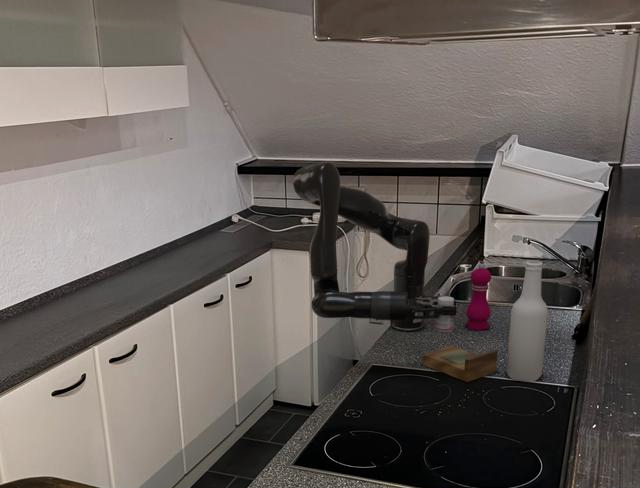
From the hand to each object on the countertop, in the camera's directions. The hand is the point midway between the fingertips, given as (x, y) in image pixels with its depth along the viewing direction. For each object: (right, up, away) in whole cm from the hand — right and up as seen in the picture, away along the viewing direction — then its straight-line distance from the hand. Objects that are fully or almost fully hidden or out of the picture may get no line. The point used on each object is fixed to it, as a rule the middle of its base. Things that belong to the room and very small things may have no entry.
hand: (455, 307), depth 195 cm
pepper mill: (+16, -3, +40) cm, 43 cm away
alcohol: (+18, -18, +3) cm, 25 cm away
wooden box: (+3, -15, +9) cm, 18 cm away
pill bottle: (-3, -6, +3) cm, 7 cm away
